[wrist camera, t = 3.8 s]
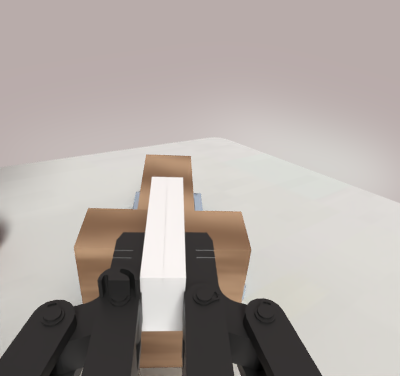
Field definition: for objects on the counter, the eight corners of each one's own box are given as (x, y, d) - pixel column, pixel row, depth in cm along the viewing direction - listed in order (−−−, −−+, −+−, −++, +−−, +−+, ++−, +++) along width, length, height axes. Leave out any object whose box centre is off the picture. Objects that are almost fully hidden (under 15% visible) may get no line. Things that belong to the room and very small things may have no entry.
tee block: (116, 256, 43) (108, 153, 35) (214, 258, 44) (226, 157, 36) (93, 368, 31) (73, 247, 23) (228, 366, 32) (251, 249, 24)
